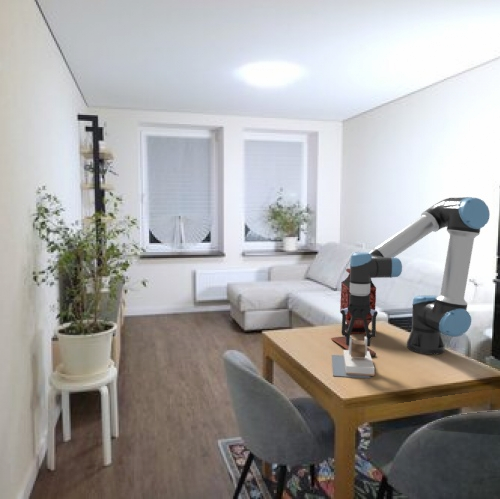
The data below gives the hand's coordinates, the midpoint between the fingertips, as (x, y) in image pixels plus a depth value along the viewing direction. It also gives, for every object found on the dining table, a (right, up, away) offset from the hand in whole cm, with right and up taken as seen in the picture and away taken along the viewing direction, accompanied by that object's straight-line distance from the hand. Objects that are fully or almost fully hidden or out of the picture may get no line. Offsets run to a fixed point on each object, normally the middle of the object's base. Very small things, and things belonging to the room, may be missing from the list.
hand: (357, 353), depth 166 cm
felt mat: (-3, -5, +1) cm, 6 cm away
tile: (+5, -3, 0) cm, 6 cm away
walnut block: (0, 0, 0) cm, 0 cm away
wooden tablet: (+3, -3, +23) cm, 24 cm away
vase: (+11, 0, +48) cm, 50 cm away
